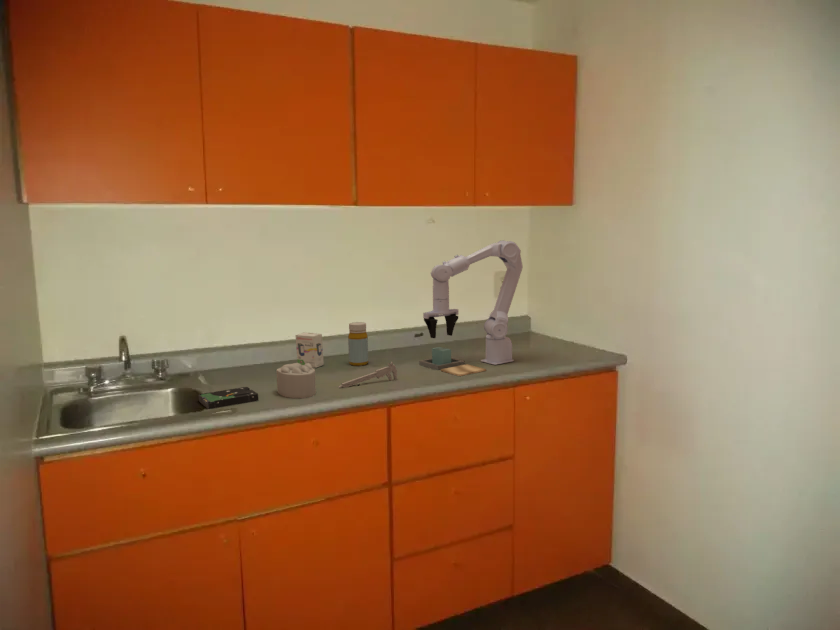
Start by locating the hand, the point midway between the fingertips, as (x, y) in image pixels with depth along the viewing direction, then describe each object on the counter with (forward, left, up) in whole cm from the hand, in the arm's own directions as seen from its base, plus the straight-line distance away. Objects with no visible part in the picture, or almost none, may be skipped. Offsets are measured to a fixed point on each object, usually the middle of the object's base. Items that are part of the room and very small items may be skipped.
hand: (441, 336), depth 230 cm
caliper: (+35, +5, -11) cm, 37 cm away
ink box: (+37, -30, -11) cm, 49 cm away
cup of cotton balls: (+57, +1, -11) cm, 58 cm away
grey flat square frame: (0, 0, -10) cm, 10 cm away
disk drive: (+77, -4, -11) cm, 78 cm away
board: (0, +12, -10) cm, 16 cm away
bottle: (+22, -21, -11) cm, 32 cm away
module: (0, 0, -10) cm, 10 cm away
